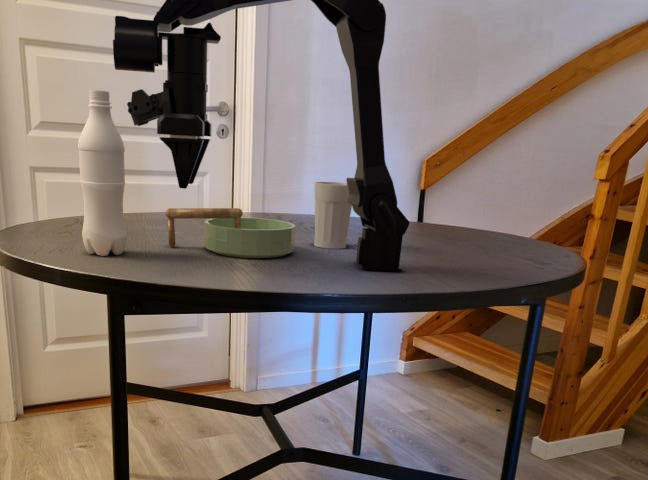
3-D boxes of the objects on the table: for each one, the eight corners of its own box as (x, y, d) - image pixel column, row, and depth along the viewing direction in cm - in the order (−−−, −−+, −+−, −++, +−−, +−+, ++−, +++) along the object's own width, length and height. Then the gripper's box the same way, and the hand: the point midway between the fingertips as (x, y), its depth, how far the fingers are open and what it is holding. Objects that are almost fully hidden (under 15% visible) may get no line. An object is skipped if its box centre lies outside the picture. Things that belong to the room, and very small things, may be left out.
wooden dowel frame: (165, 249, 110) (163, 210, 107) (169, 244, 114) (167, 206, 112) (263, 249, 110) (263, 209, 108) (263, 244, 115) (263, 206, 112)
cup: (336, 251, 117) (342, 185, 113) (302, 245, 122) (306, 182, 118) (357, 246, 123) (363, 184, 119) (323, 241, 128) (328, 181, 124)
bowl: (290, 245, 120) (292, 219, 119) (295, 261, 105) (297, 232, 104) (208, 241, 120) (208, 215, 118) (201, 256, 105) (201, 227, 103)
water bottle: (73, 252, 102) (64, 88, 93) (105, 247, 108) (100, 92, 99) (105, 259, 98) (98, 89, 90) (136, 253, 104) (133, 93, 96)
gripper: (142, 77, 98) (144, 179, 103) (117, 64, 80) (121, 188, 86) (212, 81, 98) (210, 182, 104) (203, 70, 81) (201, 192, 86)
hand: (186, 185), depth 95 cm, fingers open, 9 cm apart
